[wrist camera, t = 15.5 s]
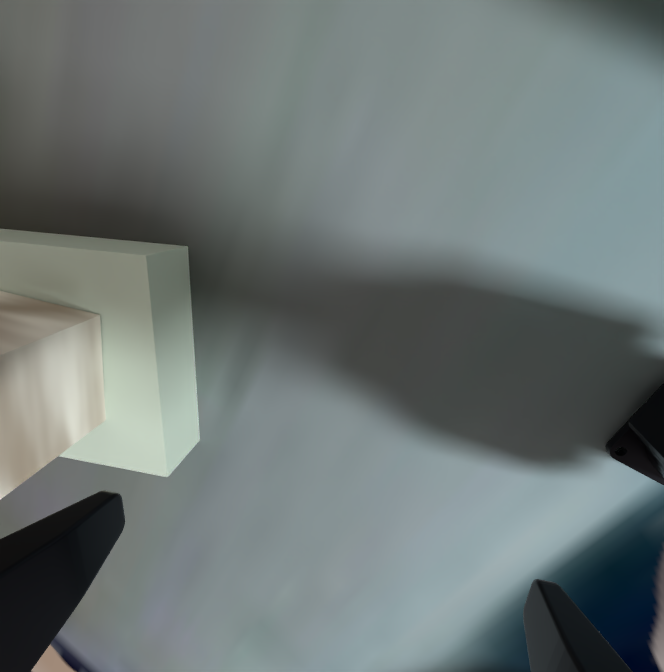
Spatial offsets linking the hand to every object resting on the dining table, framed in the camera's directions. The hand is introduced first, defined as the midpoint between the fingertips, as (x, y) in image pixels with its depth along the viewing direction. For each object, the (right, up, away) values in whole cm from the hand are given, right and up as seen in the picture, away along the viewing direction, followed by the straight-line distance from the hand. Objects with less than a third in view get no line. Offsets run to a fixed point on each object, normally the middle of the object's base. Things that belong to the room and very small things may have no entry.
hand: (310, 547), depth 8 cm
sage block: (-13, +4, +16) cm, 21 cm away
